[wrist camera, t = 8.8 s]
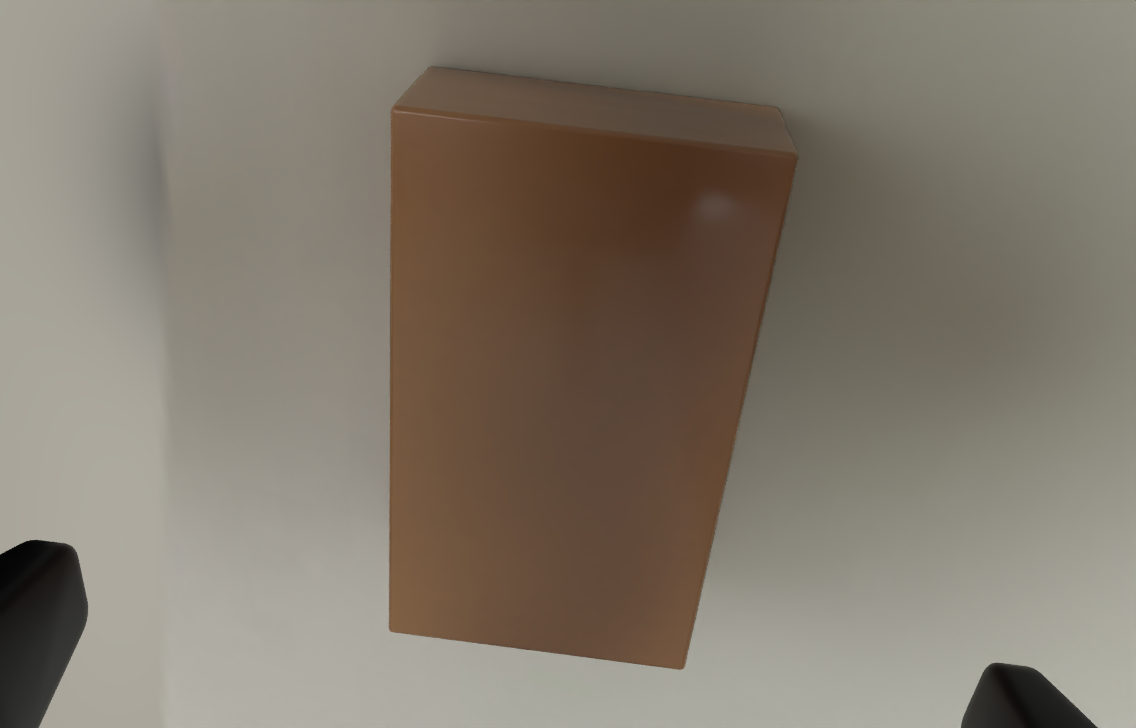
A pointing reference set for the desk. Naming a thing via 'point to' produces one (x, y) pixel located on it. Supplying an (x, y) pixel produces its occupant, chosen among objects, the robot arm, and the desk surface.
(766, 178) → the brown rectangular block
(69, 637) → the robot arm
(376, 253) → the desk surface
